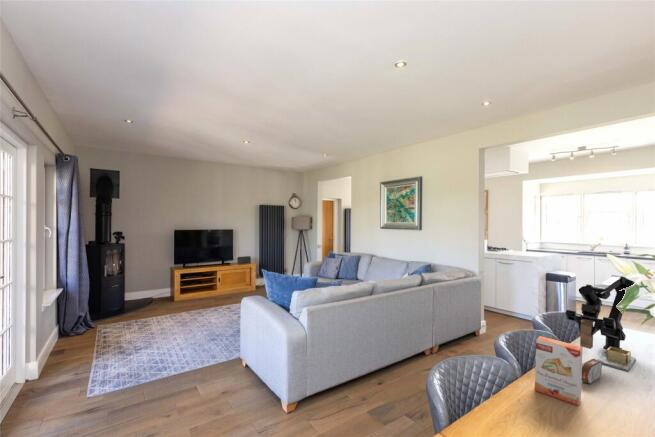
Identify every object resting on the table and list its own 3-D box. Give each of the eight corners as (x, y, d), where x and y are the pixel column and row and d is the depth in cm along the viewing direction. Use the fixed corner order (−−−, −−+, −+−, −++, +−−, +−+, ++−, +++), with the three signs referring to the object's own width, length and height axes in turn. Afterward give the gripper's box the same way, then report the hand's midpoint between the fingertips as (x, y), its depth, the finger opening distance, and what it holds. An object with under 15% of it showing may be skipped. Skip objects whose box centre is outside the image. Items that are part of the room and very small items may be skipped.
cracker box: (534, 391, 124) (535, 339, 124) (537, 385, 128) (539, 335, 128) (579, 407, 114) (580, 350, 114) (581, 400, 118) (582, 345, 118)
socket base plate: (606, 351, 162) (606, 342, 162) (635, 359, 154) (636, 349, 154) (596, 362, 150) (597, 352, 150) (628, 371, 141) (628, 360, 141)
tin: (594, 374, 138) (594, 356, 138) (603, 378, 135) (603, 358, 135) (579, 383, 130) (579, 363, 130) (588, 387, 128) (588, 366, 128)
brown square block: (582, 344, 155) (583, 319, 155) (592, 346, 152) (593, 321, 151) (580, 346, 152) (580, 321, 152) (590, 349, 149) (591, 323, 149)
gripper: (566, 293, 161) (559, 319, 155) (615, 302, 147) (609, 330, 140) (571, 306, 166) (564, 331, 160) (618, 315, 152) (612, 343, 145)
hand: (586, 333), depth 151 cm, fingers closed on brown square block, 4 cm apart
